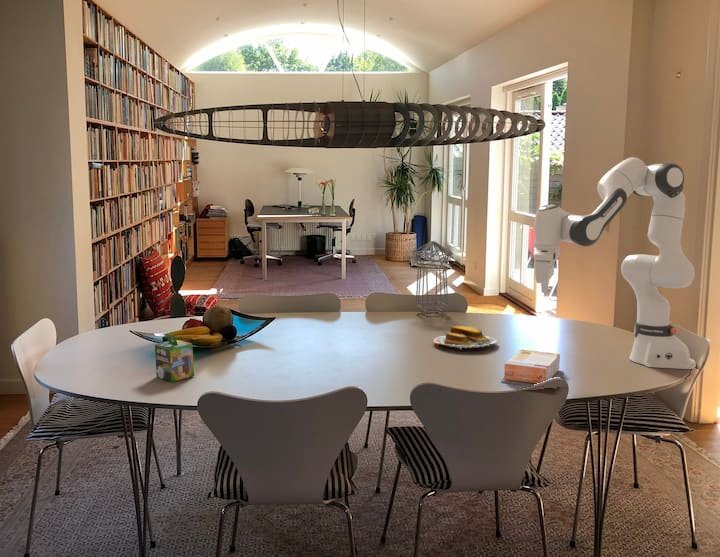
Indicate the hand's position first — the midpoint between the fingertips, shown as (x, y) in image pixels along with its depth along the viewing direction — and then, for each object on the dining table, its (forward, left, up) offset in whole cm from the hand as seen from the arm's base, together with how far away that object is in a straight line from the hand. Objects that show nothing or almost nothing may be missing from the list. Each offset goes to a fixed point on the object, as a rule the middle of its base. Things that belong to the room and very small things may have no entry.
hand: (544, 292), depth 251 cm
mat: (+1, +11, -28) cm, 30 cm away
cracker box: (0, -1, -24) cm, 24 cm away
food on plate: (+32, -22, -28) cm, 48 cm away
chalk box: (+112, +58, -28) cm, 129 cm away
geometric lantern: (+61, -72, -28) cm, 98 cm away
